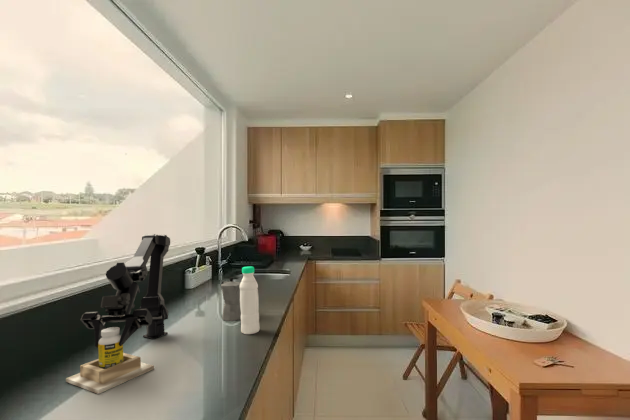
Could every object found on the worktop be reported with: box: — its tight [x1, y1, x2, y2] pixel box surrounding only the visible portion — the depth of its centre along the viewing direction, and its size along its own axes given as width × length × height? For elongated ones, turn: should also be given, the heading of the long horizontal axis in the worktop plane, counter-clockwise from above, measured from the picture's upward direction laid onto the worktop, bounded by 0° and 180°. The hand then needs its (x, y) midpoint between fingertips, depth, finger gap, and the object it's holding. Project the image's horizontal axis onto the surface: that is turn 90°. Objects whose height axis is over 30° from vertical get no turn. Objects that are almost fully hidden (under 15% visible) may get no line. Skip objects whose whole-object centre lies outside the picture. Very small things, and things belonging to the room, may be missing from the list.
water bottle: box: [239, 265, 261, 335], centre depth 134 cm, size 7×7×25 cm
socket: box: [65, 352, 155, 395], centre depth 100 cm, size 16×16×4 cm
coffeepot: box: [220, 276, 242, 322], centre depth 155 cm, size 15×9×18 cm, turn 44°
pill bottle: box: [97, 326, 124, 369], centre depth 100 cm, size 6×6×11 cm
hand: (108, 346), depth 99 cm, fingers closed on pill bottle, 6 cm apart
